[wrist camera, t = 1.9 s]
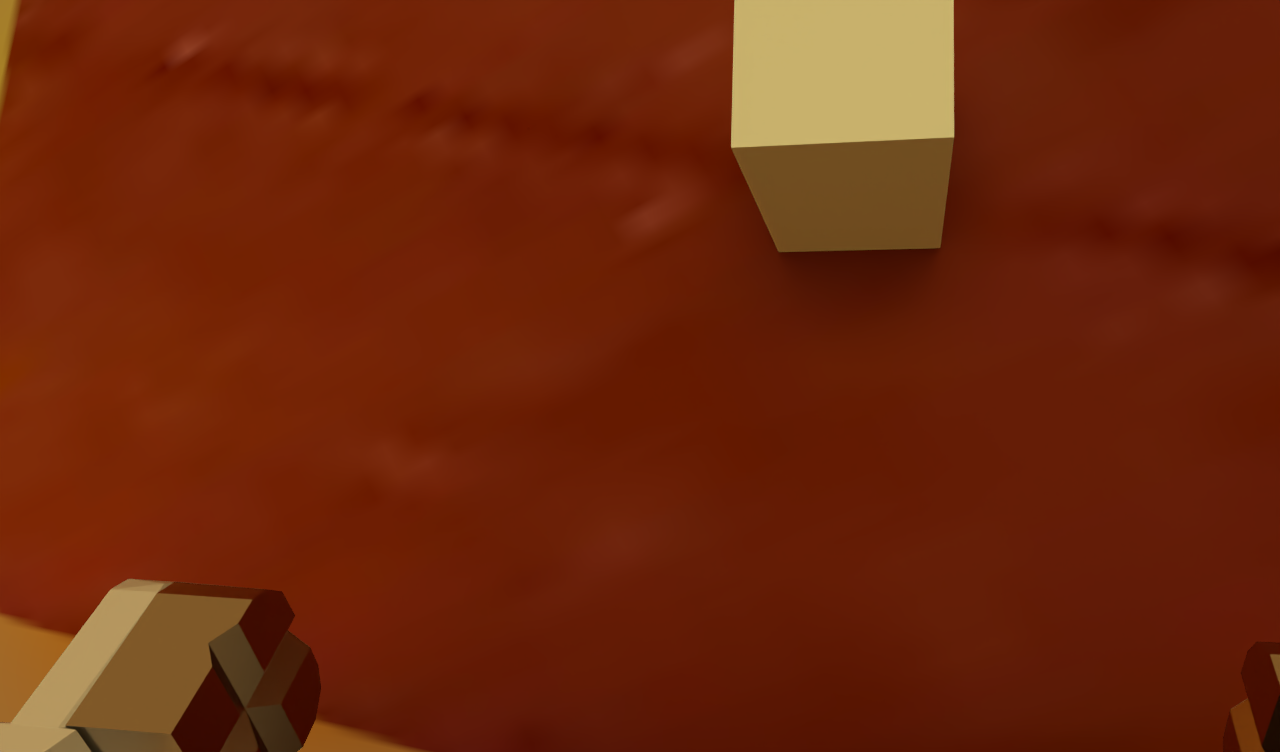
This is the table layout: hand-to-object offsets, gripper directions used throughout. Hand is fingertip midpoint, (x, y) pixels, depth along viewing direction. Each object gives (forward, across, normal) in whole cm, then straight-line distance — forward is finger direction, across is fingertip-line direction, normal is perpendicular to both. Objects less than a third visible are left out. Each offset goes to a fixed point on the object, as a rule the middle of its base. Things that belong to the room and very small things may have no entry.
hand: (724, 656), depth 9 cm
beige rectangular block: (+26, 0, +9) cm, 28 cm away
